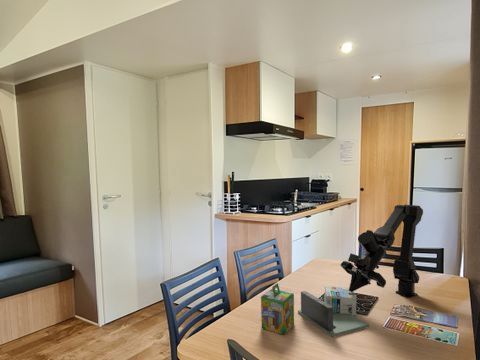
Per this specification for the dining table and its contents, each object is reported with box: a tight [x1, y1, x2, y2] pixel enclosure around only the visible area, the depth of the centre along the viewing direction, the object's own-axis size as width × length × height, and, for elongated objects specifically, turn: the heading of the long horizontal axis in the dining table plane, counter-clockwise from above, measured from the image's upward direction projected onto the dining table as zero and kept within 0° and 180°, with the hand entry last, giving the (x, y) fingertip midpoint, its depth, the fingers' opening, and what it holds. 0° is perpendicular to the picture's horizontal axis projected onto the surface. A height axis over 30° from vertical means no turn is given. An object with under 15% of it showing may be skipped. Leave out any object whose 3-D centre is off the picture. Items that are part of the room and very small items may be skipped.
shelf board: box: [297, 309, 370, 338], centre depth 119 cm, size 16×20×1 cm
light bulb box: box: [323, 285, 357, 316], centre depth 126 cm, size 11×7×11 cm
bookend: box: [300, 290, 336, 332], centre depth 116 cm, size 4×16×8 cm, turn 24°
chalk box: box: [260, 282, 295, 336], centre depth 114 cm, size 9×9×15 cm
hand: (350, 291), depth 122 cm, fingers closed
